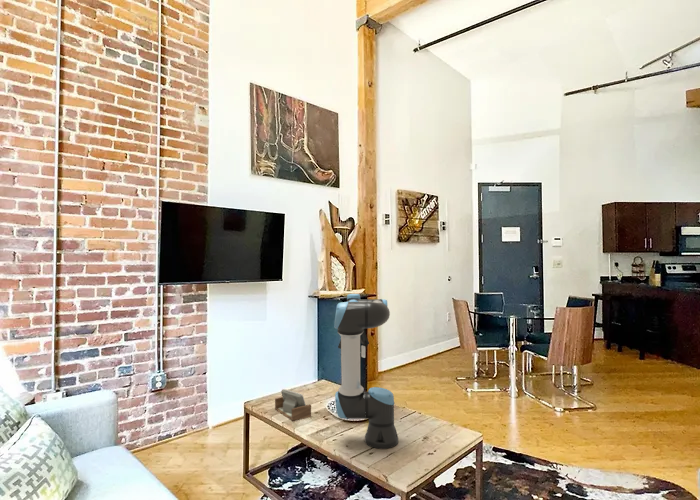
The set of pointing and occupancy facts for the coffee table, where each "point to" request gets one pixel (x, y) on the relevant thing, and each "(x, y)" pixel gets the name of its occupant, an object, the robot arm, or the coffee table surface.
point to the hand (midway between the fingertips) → (354, 359)
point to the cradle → (293, 410)
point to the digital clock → (292, 400)
